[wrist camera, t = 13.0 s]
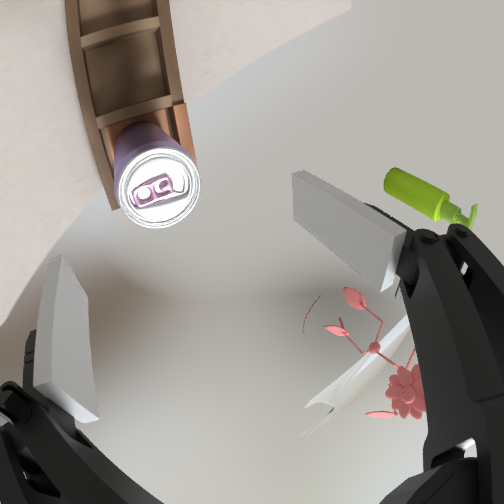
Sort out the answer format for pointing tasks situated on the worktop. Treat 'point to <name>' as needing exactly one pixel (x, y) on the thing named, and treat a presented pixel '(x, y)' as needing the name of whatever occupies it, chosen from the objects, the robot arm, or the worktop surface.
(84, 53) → the can caddy
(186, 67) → the worktop surface
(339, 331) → the pink flower branch
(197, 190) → the beverage can
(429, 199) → the soap dispenser
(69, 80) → the worktop surface
